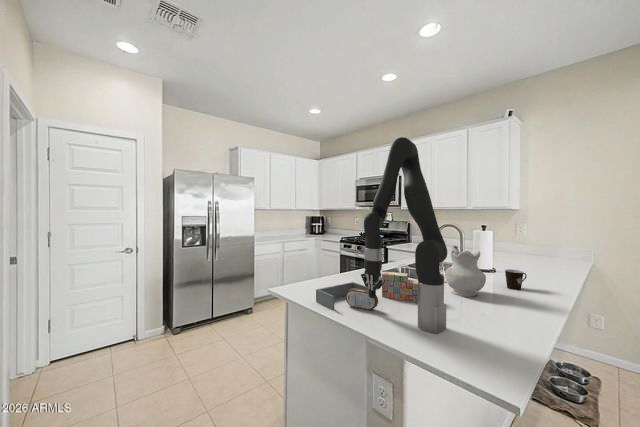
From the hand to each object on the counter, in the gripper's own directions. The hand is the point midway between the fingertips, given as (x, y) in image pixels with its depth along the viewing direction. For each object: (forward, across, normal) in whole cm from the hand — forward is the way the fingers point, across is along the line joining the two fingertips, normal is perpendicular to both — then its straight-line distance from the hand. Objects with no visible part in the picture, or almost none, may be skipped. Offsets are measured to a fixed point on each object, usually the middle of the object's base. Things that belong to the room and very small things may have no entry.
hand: (372, 297), depth 118 cm
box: (+7, +19, 0) cm, 20 cm away
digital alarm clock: (+7, +6, 0) cm, 9 cm away
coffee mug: (+6, -21, -94) cm, 97 cm away
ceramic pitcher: (+6, -8, -61) cm, 62 cm away
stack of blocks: (+7, +4, -27) cm, 28 cm away
